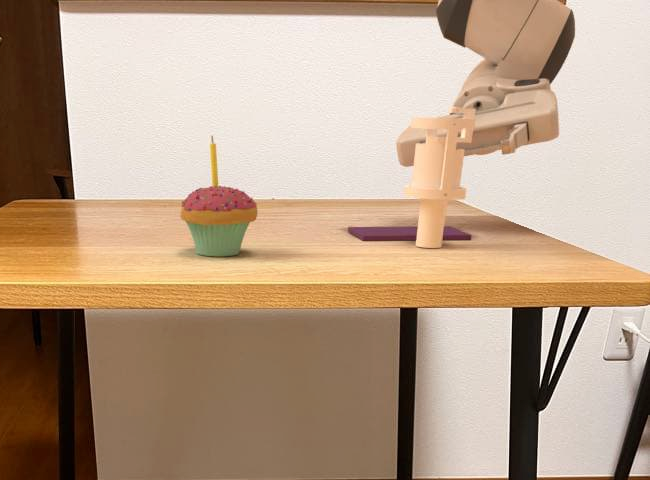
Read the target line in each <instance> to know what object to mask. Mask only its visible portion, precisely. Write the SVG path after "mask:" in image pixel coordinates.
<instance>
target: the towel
mask: <svg viewBox="0 0 650 480" xmlns="http://www.w3.org/2000/svg"><path fill="white" fill-rule="evenodd" d="M417 230H418V226H348V227H347V233H349V234H351V235H353V236H355V237H356V238H358V239H360V240H361V241H363V242H368V241H369V242H370V241H372V242H374V241H376V242H379V241H386V242H388V241H393V242H394V241H416V239H417ZM471 240H472V234H470V233H468V232H466V231H463V230H460V229H458V228H455V227H452V226H451V225H449V226H448V225H447V226H446V225H444V229H443V237H442V241H471Z"/></svg>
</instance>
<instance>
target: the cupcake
mask: <svg viewBox="0 0 650 480" xmlns="http://www.w3.org/2000/svg"><path fill="white" fill-rule="evenodd" d="M210 140H211V143H209V153H210V168H211V186H209V187H208V186H207V187H199V188H197V189H195V190H194V191H192V192H191V193H189V194H188V195H187V197H186V198H185V199H184V200H182V202H181V205H180V207H181V210H180V219H181V220H183V221H184V222H185V223H186V225H187V227H188V229H189V232H190V233H191V238H192V241H193V244H194V246H195V251H196V253H197V254H198V255H199V256H200V255H201V256H205V257H218V258H221V257H234V256H236V255H238V254H240V252H241V247H242V244H243V240H244V237H245V234H246V232H247V229H248V227H249V225H250V223H253V222H255V221H256V220H257V218H258V211H259V210H258V203H256V202H255V200H253V199H254V198H253V197H250V196H249V195H248V194H247V193H246V192H245V191H244V190H239V188H234V187H230V186H228V187H227V186H226V185H224V186H222V185H219V176H218V175H219V172H218V157H217V155H218V154H217V144H216V143H214V135H210Z"/></svg>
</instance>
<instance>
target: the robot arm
mask: <svg viewBox="0 0 650 480" xmlns="http://www.w3.org/2000/svg"><path fill="white" fill-rule="evenodd" d="M437 1H438V2H437V6H436V8H435V14H436V18H437V22H438V27H439V30H440V32H441V34H442V37H443V38H444V39H446V40H448V41H449V42H452V43H454V44H456V45H458V46H460V47H462V48H466V49H468V50H469V51H472V52H474V53H475V54H477V55H479V56H480V57H482V58H484V59H483V60H481V61H480V62H479V63H478V64H477V65H476V66H475V67H474V68H473V69H472V70H471V71H470V73H469V74H468V76H467V77H466V79H465V81H463V82H464V83H463V84H462V86H461V89H460V90H459V92H458V94H457V96H456V99H455V100H454V103H453V105H452V106H451V108H452V107H460V108H465V109H476V112H475V126H474V130H473V134H472V142H471V143H464V142H457V144H456V150H457V149H464V157H469V156H474V155H476V156H484V155H489V154H492V153H495V152H497V151H501V154H502V155H510V154H515V153H516V150H517V149H518V148H520V147H523V146H529V145H534V144H540V143H547V142H550V141H553V140H556V139H557V138H558V137H559V136H560V122H559V121H560V120H559V107H558V99H557V95H556V93H555V92H554V91H553V90H552V89H551V87H552V86H551V84H552V83H553V82H554V80H555V79H556V77H557V76H558V74H559V73H560V71H561V69H562V67H563V65H564V64H565V61H566V60H567V58H568V55H569V53H570V51H571V48H572V46H573V43H574V40H575V37H576V21H575V20H576V19H575V14H574V12H573V9H571V7H568V6H567V5H565V4H564V3H562V2H561V1H559V0H437ZM463 115H464V113H449V114H448V115H443V116H438V117H436V118H451V119H463ZM426 134H427V129H422V128H411V124H410V125H409V126H407V128H406V129H404V130H403V131H402V133H400V135H399V136H398V137H397V139H396V142H395V143H396V144H395V145H396V153H397V158H398V162H399V164H400V165H401V166H402V167H405V168H408V167H409V168H410V167H414V157H415V148H416V144H417V143H421V144H425V143H426ZM446 136H447V129H437V137H446ZM457 137H461V130H458V136H457Z"/></svg>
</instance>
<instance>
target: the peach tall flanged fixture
mask: <svg viewBox="0 0 650 480" xmlns="http://www.w3.org/2000/svg"><path fill="white" fill-rule="evenodd" d="M475 112H476V109H465V108H460V107H452V106H451V107H449V108H448V112H447V113H448V114H450V113H464V115H463V119H451V118H437V117H419V116H418V117H417V116H416V117H415V116H412V117H411V122H410V125H411V128H422V129H427V134H426V143H425V144H421V143H417V144H416V148H415V157H414V166H412V167H413V168H412V176H411V177H412V178H411V184H405V185H404V190H403V196H404V197H407V198H413V199H418V201H419V213H418V221H417V227H418V230H417V239H416V240H415V247H419V248H424V249H425V248H427V249H441V248H442V246H443V240H442V237H443V229H444V226H445V220H446V213H447V205H448V203H449V202H450V201H454V200H455V201H458V200H465V199H466V195H467V187H464V186H461V180H462V173H463V166H464V157H465V156H464V149H457V150H456V144H457V142H464V143H471V142H472V134H473V130H474V126H475ZM437 129H447V136H446V137H437ZM458 130H461V137H457V136H458Z"/></svg>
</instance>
